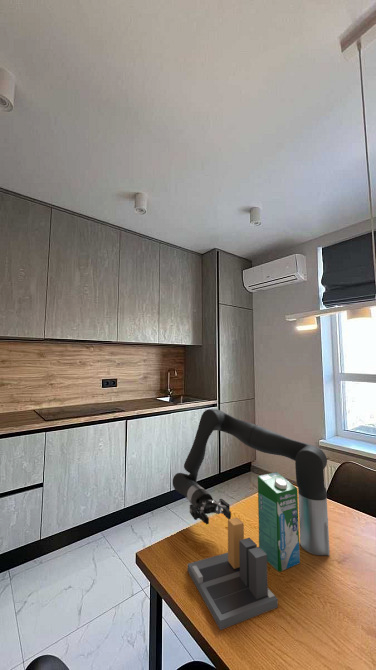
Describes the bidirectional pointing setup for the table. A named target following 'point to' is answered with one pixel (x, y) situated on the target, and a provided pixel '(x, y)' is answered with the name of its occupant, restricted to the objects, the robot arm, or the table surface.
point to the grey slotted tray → (234, 585)
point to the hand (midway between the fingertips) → (219, 518)
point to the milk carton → (278, 521)
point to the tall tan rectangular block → (234, 541)
